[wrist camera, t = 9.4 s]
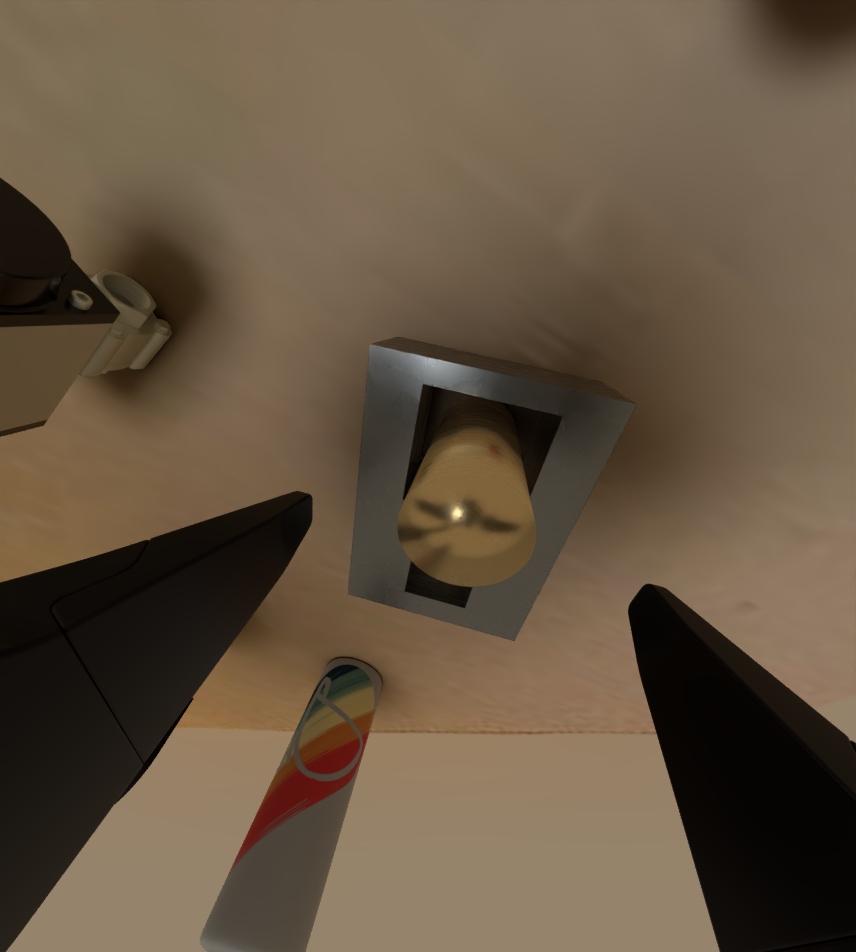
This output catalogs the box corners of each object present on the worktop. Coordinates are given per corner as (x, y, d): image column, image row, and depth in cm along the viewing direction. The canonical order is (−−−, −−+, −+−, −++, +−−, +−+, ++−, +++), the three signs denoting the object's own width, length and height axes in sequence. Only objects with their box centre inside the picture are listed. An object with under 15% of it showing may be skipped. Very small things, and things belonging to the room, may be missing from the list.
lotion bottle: (353, 649, 28) (127, 1205, 11) (395, 685, 30) (257, 1226, 12) (314, 665, 30) (76, 1142, 13) (354, 698, 32) (190, 1166, 14)
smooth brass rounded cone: (502, 473, 18) (510, 600, 10) (433, 456, 18) (389, 567, 10) (525, 404, 16) (558, 495, 8) (448, 386, 16) (407, 458, 8)
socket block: (510, 587, 22) (514, 640, 18) (370, 549, 22) (347, 594, 19) (602, 382, 15) (636, 404, 11) (397, 336, 16) (370, 344, 12)
